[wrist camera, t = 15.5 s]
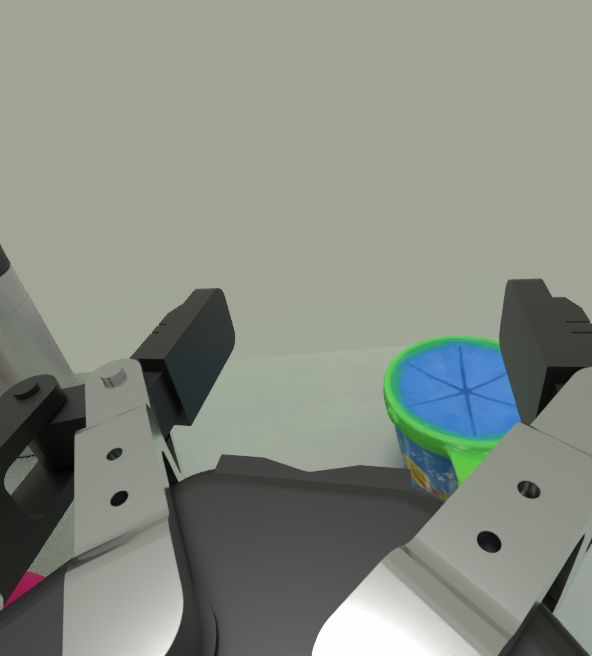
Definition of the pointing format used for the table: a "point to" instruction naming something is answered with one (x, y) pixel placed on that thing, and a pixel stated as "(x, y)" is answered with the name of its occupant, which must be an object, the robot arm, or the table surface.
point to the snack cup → (448, 408)
